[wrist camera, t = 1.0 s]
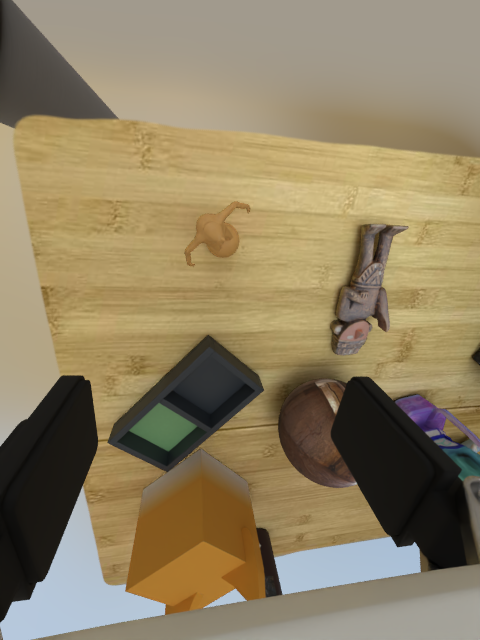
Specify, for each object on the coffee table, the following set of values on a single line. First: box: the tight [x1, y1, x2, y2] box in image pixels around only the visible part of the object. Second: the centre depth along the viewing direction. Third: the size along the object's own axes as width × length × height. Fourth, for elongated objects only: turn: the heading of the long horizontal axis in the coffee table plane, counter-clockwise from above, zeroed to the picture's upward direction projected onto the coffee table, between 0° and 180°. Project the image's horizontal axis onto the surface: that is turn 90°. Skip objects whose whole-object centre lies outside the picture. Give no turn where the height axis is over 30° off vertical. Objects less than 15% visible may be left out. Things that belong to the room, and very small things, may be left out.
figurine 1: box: [184, 201, 250, 266], centre depth 27 cm, size 8×6×12 cm
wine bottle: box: [256, 529, 282, 598], centre depth 48 cm, size 7×7×30 cm
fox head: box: [125, 449, 266, 615], centre depth 43 cm, size 18×21×20 cm
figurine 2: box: [331, 224, 408, 355], centre depth 37 cm, size 7×5×20 cm
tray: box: [108, 335, 264, 472], centre depth 41 cm, size 12×22×4 cm, turn 133°
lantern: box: [395, 395, 480, 481], centre depth 39 cm, size 13×12×30 cm
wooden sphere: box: [278, 379, 357, 488], centre depth 39 cm, size 15×15×15 cm
